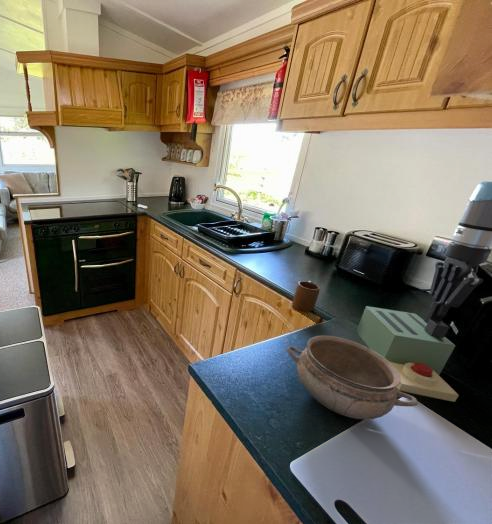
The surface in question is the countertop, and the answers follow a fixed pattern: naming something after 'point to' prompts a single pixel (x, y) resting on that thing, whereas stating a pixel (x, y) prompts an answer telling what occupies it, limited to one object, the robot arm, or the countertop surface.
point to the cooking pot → (349, 377)
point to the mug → (306, 296)
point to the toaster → (403, 338)
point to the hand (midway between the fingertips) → (431, 323)
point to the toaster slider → (436, 328)
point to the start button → (422, 369)
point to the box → (424, 383)
